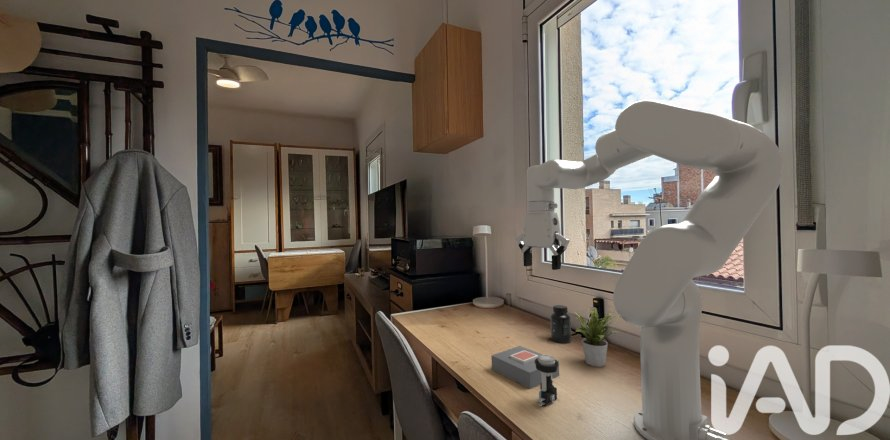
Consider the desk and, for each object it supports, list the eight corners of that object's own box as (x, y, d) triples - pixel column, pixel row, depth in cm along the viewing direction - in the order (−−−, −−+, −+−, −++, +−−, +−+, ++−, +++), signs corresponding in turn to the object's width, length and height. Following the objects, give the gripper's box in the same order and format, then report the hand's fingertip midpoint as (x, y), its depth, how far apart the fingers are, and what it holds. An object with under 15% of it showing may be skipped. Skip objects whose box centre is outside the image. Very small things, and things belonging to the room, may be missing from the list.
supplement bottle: (547, 338, 117) (546, 305, 117) (563, 336, 118) (562, 303, 119) (558, 344, 110) (557, 309, 110) (575, 342, 112) (574, 308, 112)
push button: (550, 412, 70) (548, 366, 70) (528, 403, 74) (527, 359, 74) (563, 400, 75) (562, 357, 75) (542, 392, 78) (541, 351, 79)
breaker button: (538, 368, 89) (538, 355, 89) (524, 374, 86) (523, 360, 86) (524, 362, 93) (524, 350, 93) (510, 367, 90) (510, 355, 90)
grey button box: (559, 375, 87) (558, 360, 87) (530, 388, 80) (529, 372, 80) (520, 358, 99) (519, 345, 99) (491, 369, 92) (491, 355, 92)
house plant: (637, 375, 86) (635, 314, 87) (586, 376, 86) (584, 315, 87) (609, 354, 101) (608, 302, 101) (566, 355, 100) (564, 303, 101)
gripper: (575, 207, 87) (576, 269, 87) (524, 210, 101) (525, 263, 101) (559, 206, 83) (560, 272, 83) (509, 209, 97) (509, 265, 96)
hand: (541, 267), depth 92 cm, fingers open, 9 cm apart
